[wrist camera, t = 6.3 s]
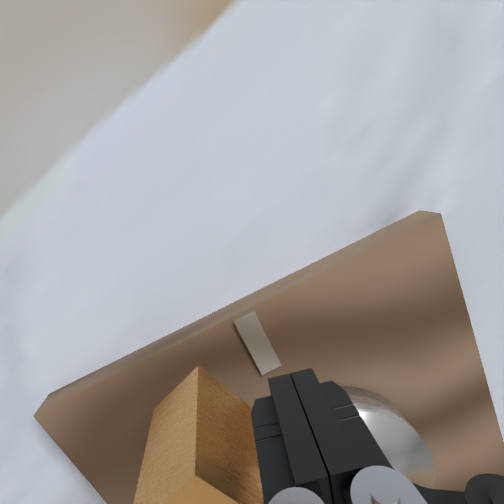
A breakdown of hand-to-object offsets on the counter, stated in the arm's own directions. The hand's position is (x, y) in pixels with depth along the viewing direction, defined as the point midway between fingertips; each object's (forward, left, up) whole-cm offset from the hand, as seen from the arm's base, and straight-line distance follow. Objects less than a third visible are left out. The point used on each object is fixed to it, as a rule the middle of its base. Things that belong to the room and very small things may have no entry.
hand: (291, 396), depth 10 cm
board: (-8, +1, -6) cm, 10 cm away
